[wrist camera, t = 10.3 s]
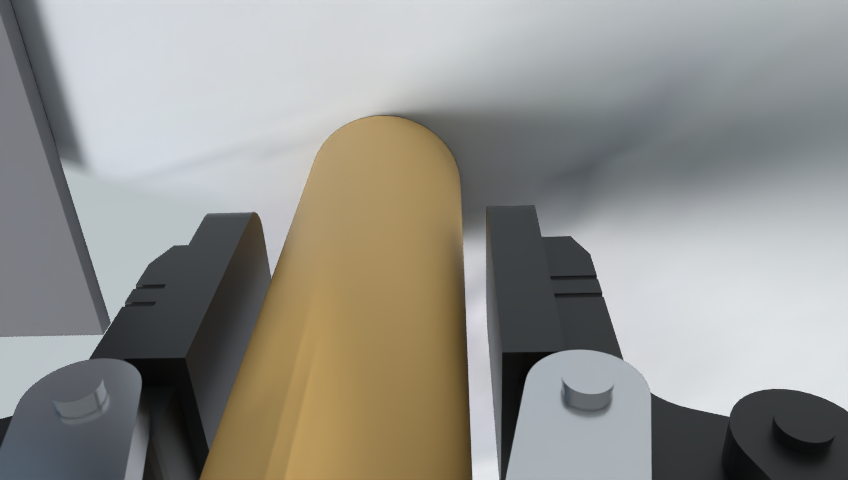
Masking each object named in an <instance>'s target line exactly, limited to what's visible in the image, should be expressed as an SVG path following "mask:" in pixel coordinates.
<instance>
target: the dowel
mask: <svg viewBox="0 0 848 480" xmlns="http://www.w3.org/2000/svg"><path fill="white" fill-rule="evenodd" d="M199 480H472V460H471V435H470V409H469V383H468V358H467V332H466V307H465V281H464V255H463V230H462V204H461V182H460V174H459V170H458V166H457V163H456V161H455V158H454V157H453V155H452V153H451V151H450V150H449V148H448V147H447V146H446V145H445V143H444V142H443V141H442V140H441V139H440V138H439V137H438V136H437V135H436V134H434V133H433V132H432V131H430V130H429V129H427V128H426V127H424V126H422V125H421V124H418V123H416V122H414V121H411V120H408V119H404V118H401V117H395V116H371V117H366V118H361V119H358V120H355V121H353V122H350V123H348V124H346V125H345V126H343V127H341V128H340V129H338V130H337V131H335V132H334V133H333V134H332V135H331V136H330V137H329V138H328V139H327V140H326V141H325V142H324V144H323V145H322V146H321V148H320V150H319V151H318V153H317V155H316V158H315V160H314V163H313V165H312V168H311V171H310V174H309V177H308V179H307V182H306V185H305V188H304V190H303V193H302V196H301V199H300V202H299V204H298V207H297V210H296V213H295V215H294V218H293V221H292V224H291V227H290V229H289V232H288V235H287V238H286V240H285V243H284V246H283V249H282V252H281V254H280V257H279V260H278V263H277V265H276V268H275V271H274V274H273V276H272V279H271V282H270V285H269V288H268V290H267V293H266V296H265V299H264V301H263V304H262V307H261V310H260V313H259V315H258V318H257V321H256V324H255V326H254V329H253V332H252V335H251V338H250V340H249V343H248V346H247V349H246V351H245V354H244V357H243V360H242V362H241V365H240V368H239V371H238V374H237V376H236V379H235V382H234V385H233V387H232V390H231V393H230V396H229V399H228V401H227V404H226V407H225V410H224V412H223V415H222V418H221V421H220V424H219V426H218V429H217V432H216V435H215V437H214V440H213V443H212V446H211V448H210V451H209V454H208V457H207V460H206V462H205V465H204V468H203V471H202V473H201V476H200V479H199Z"/></svg>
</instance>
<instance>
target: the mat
mask: <svg viewBox="0 0 848 480" xmlns="http://www.w3.org/2000/svg"><path fill="white" fill-rule="evenodd" d="M110 323H111V322H110V319H109V316H108V313H107V310H106V306H105V303H104V300H103V297H102V294H101V291H100V287H99V284H98V281H97V277H96V275H95V271H94V268H93V265H92V261H91V259H90V255H89V252H88V249H87V245H86V242H85V239H84V236H83V233H82V229H81V226H80V223H79V220H78V216H77V213H76V210H75V207H74V204H73V201H72V197H71V194H70V191H69V188H68V184H67V181H66V178H65V175H64V172H63V168H62V165H61V162H60V159H59V156H58V152H57V149H56V146H55V143H54V139H53V136H52V133H51V130H50V127H49V123H48V120H47V117H46V114H45V111H44V107H43V104H42V101H41V98H40V95H39V91H38V88H37V85H36V82H35V78H34V75H33V72H32V69H31V66H30V62H29V59H28V56H27V53H26V50H25V46H24V43H23V40H22V37H21V34H20V30H19V27H18V24H17V21H16V18H15V14H14V11H13V8H12V5H11V1H10V0H0V337H9V336H11V337H13V336H60V335H61V336H62V335H103V334H104V333H105V331H106V330H107V328H108V326H109V325H110Z"/></svg>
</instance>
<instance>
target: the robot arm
mask: <svg viewBox="0 0 848 480" xmlns="http://www.w3.org/2000/svg"><path fill="white" fill-rule="evenodd" d="M270 282H271V274H270V269H269V263H268V257H267V251H266V245H265V240H264V234H263V228H262V224H261V220H260V218H259V216H258V214H257V213H255V212H251V213H213V214H207V215H206V216H205V217H204V219H203V221H202V222H201V224H200V226H199V228H198V229H197V231H196V233H195V235H194V236H193V238H192V240H191V242H190V243H189V245H181V246H173V247H172V248H170V249H169V250H167V251H166V252H165V253H163V254H162V255H161V256H160V257H158V258H157V259H155V260H154V261H153V262H151V263H150V264H149V265H148V267H147V268H146V270H145V272H144V273H143V275H142V276H141V278H140V279H139V281H138V283H137V284H136V289H133V291H132V292H131V294H130V295H129V297H128V298H127V300H126V302H125V307H122V308H121V309H120V311H119V313H118V315H117V316H116V317H115V319H114V321H113V322H112V324H111V326H110V327H109V328H108V330H107V332H106V333H105V335H104V336H103V338H102V340H101V341H100V343H99V344H98V346H97V347H96V349H95V351H94V352H93V354H92V356H91V357H90V359H89V360H85V361H81V362H77V363H74V364H70V365H68V366H65V367H63V368H60V369H58V370H56V371H54V372H52V373H50V374H49V375H47V376H45V377H43V378H42V379H40V380H39V381H38V382H37V383H35V384H34V385H33V386H32V387H31V388H30V389H28V391H26V393H25V394H24V395H23V396H22V398H21V399H20V401H19V403H18V405H17V407H16V409H15V412H14V414H13V416H10V417H7V418H3V419H0V480H199V479H200V476H201V473H202V471H203V468H204V465H205V462H206V460H207V457H208V454H209V451H210V448H211V446H212V443H213V440H214V437H215V435H216V432H217V429H218V426H219V424H220V421H221V418H222V415H223V412H224V410H225V407H226V404H227V401H228V399H229V396H230V393H231V390H232V387H233V385H234V382H235V379H236V376H237V374H238V371H239V368H240V365H241V362H242V360H243V357H244V354H245V351H246V349H247V346H248V343H249V340H250V338H251V335H252V332H253V329H254V326H255V324H256V321H257V318H258V315H259V313H260V310H261V307H262V304H263V301H264V299H265V296H266V293H267V290H268V288H269V285H270ZM486 304H487V329H488V342H489V355H490V368H491V380H492V393H493V406H494V419H495V431H496V444H497V457H498V469H499V480H848V412H847V411H846V410H845V409H843V408H841V407H840V406H838V405H836V404H834V403H832V402H830V401H828V400H826V399H823V398H821V397H818V396H815V395H812V394H809V393H805V392H800V391H795V390H787V389H769V390H762V391H757V392H754V393H751V394H749V395H746V396H745V397H743V398H742V399H740V400H739V401H738V402H737V403H736V404H735V405H734V407H733V409H732V411H731V414H730V417H727V416H722V415H718V414H713V413H708V412H704V411H699V410H694V409H690V408H686V407H682V406H678V405H676V404H673V403H670V402H668V401H665V400H663V399H661V398H659V397H657V396H655V395H654V394H652V393H651V392H650V388H649V386H648V383H647V381H646V380H645V378H644V377H643V376H642V374H641V373H640V372H639V371H638V370H637V369H636V368H634V367H633V366H632V365H630V364H629V363H627V362H625V361H624V360H623V357H622V354H621V351H620V348H619V344H618V341H617V338H616V335H615V332H614V329H613V325H612V322H611V319H610V316H609V313H608V310H607V306H606V303H605V300H604V297H602V291H601V287H600V284H599V281H598V279H597V275H596V271H595V268H594V265H593V262H592V259H591V256H590V254H589V253H588V252H587V251H586V250H585V249H584V248H583V247H582V246H580V245H579V244H578V243H577V242H576V241H575V240H574V239H573V238H572V237H571V236H563V237H541V232H540V228H539V223H538V218H537V214H536V209H535V206H534V205H530V206H493V207H487V209H486Z"/></svg>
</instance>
